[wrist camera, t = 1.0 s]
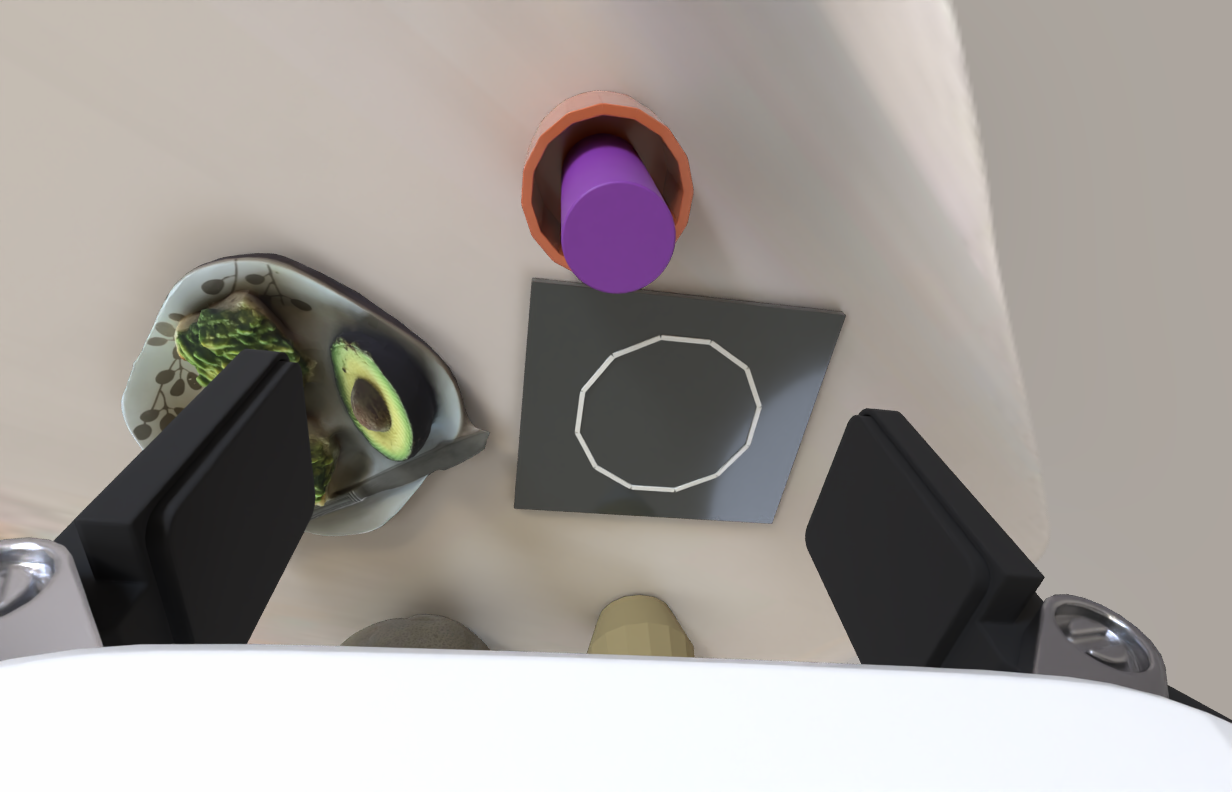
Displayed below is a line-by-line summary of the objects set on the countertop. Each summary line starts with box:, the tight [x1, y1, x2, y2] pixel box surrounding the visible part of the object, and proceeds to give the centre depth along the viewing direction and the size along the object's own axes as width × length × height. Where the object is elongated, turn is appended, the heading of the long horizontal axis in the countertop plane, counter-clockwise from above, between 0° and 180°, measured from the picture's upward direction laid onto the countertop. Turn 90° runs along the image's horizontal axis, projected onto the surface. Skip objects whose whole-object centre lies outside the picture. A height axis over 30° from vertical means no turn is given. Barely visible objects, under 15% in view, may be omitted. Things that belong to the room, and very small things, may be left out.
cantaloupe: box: [340, 614, 490, 651], centre depth 42 cm, size 14×14×15 cm
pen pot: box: [521, 90, 694, 271], centre depth 29 cm, size 7×7×6 cm
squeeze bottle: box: [587, 595, 694, 658], centre depth 41 cm, size 8×8×18 cm
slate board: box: [514, 278, 846, 524], centre depth 39 cm, size 16×18×1 cm
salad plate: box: [122, 253, 490, 536], centre depth 36 cm, size 19×18×5 cm
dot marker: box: [561, 133, 676, 294], centre depth 27 cm, size 4×4×11 cm
